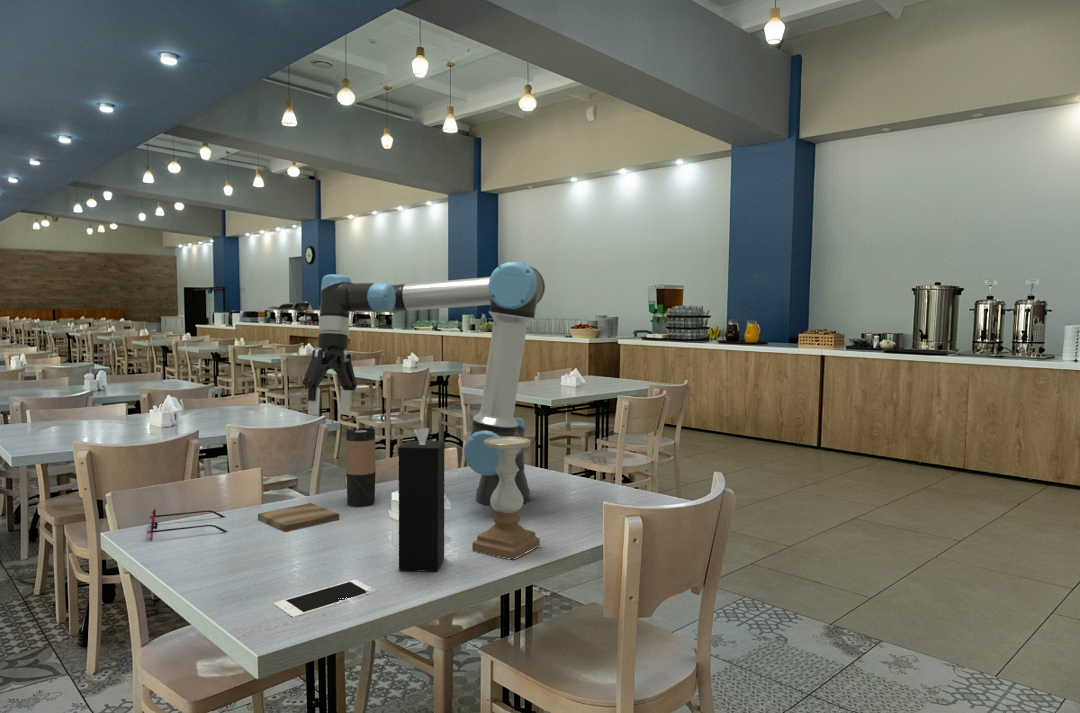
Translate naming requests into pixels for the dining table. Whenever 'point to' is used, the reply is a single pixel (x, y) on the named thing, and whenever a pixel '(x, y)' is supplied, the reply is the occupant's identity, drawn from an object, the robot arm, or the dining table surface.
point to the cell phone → (321, 598)
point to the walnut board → (298, 517)
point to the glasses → (178, 528)
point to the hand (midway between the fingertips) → (329, 414)
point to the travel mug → (360, 467)
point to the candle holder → (506, 505)
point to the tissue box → (421, 503)
